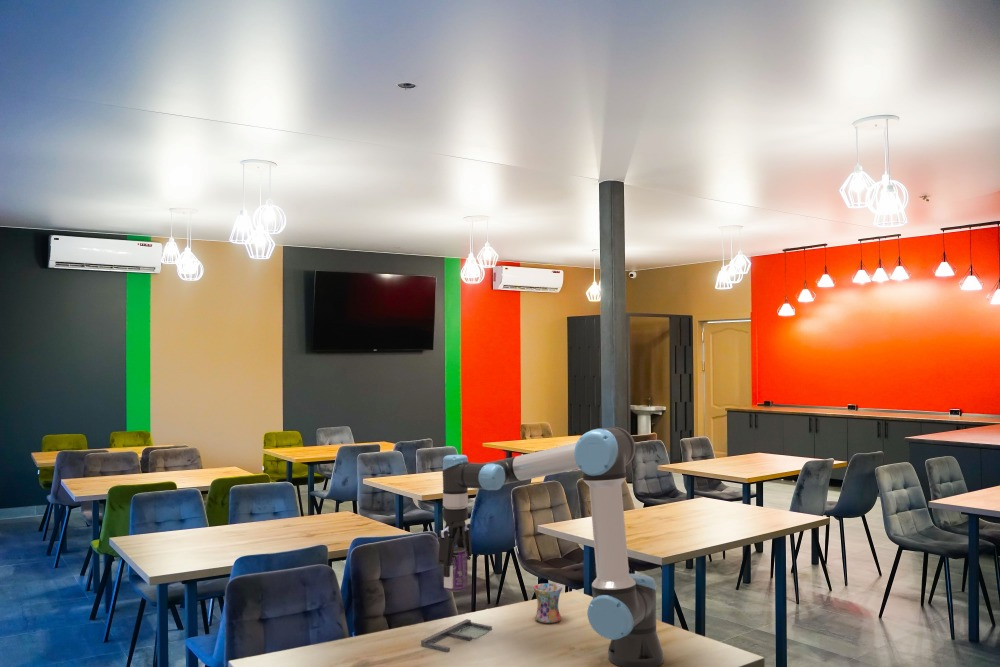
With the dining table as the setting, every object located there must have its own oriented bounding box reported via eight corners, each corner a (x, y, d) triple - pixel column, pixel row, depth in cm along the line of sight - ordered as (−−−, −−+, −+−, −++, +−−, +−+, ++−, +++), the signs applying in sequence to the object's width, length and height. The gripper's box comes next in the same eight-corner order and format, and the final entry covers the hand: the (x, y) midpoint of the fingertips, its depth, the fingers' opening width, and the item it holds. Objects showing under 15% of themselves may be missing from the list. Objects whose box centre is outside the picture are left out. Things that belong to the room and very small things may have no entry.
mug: (562, 625, 242) (562, 591, 243) (533, 625, 242) (533, 591, 243) (561, 613, 254) (561, 581, 255) (533, 613, 254) (533, 580, 255)
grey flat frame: (493, 629, 238) (493, 624, 238) (448, 652, 218) (448, 646, 218) (466, 624, 243) (466, 619, 243) (421, 646, 224) (421, 640, 224)
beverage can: (440, 588, 230) (440, 548, 230) (462, 585, 233) (461, 545, 234) (449, 594, 223) (449, 552, 224) (471, 591, 226) (471, 550, 227)
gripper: (463, 501, 240) (463, 575, 238) (425, 510, 223) (425, 590, 222) (483, 503, 236) (484, 578, 234) (446, 513, 219) (446, 594, 218)
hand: (455, 584), depth 228 cm, fingers closed on beverage can, 7 cm apart
